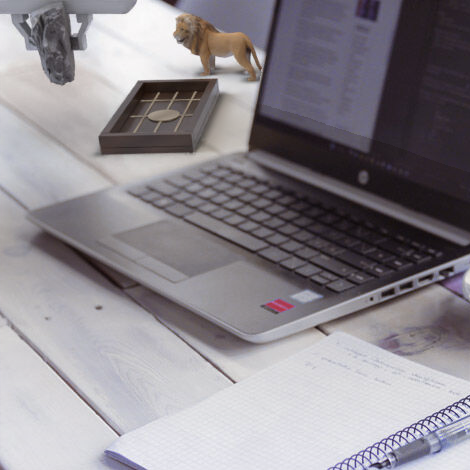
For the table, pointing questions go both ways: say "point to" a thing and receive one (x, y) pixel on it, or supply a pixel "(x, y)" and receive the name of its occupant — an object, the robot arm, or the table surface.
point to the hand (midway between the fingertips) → (57, 49)
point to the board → (160, 117)
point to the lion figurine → (214, 44)
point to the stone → (54, 42)
